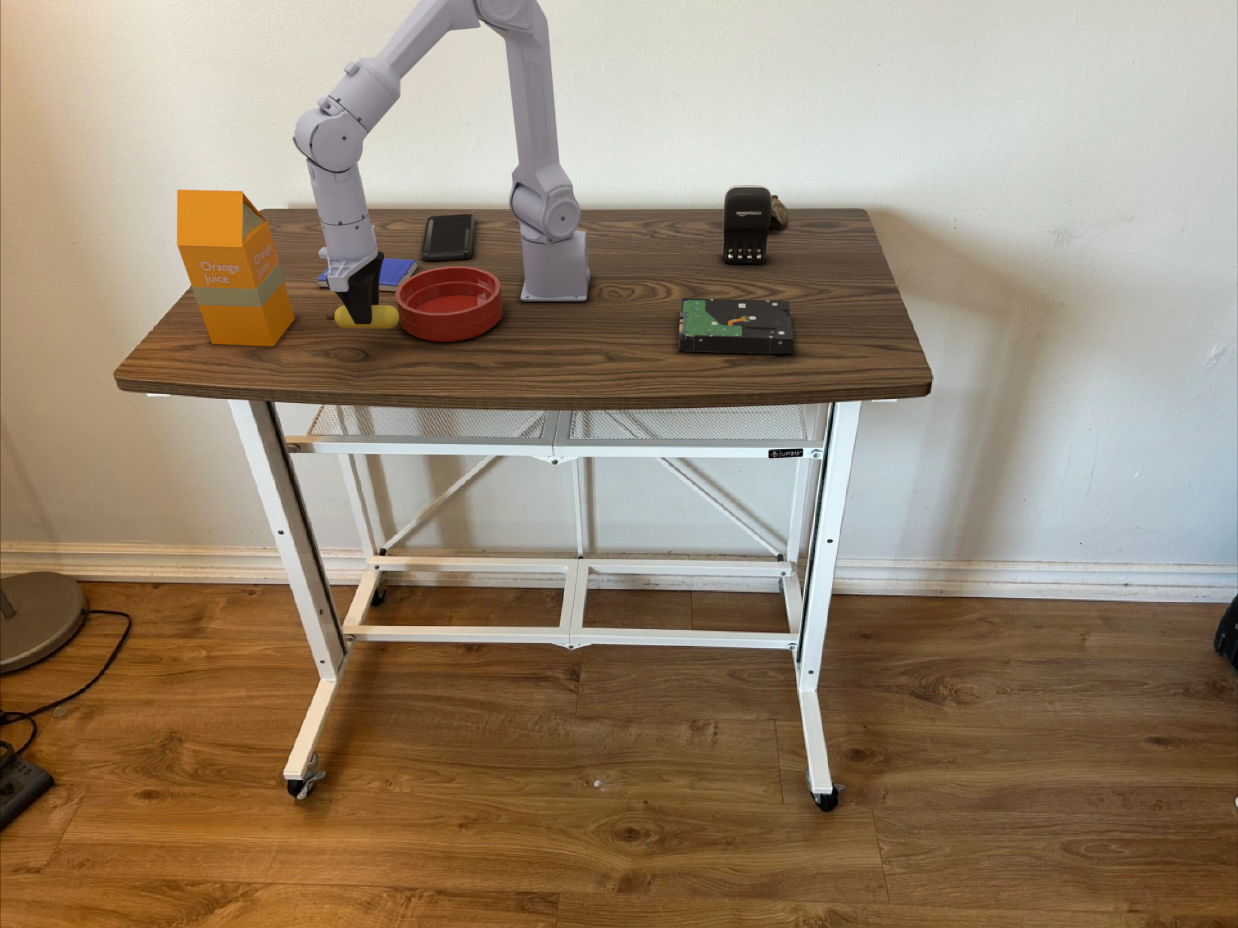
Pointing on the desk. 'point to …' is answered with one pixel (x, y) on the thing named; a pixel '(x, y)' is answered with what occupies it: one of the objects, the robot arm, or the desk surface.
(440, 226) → the phone
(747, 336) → the disk drive
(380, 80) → the robot arm
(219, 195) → the orange juice
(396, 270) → the blue book
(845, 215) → the desk surface
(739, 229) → the battery charger
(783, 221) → the fossilized seashell
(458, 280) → the bowl
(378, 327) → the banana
